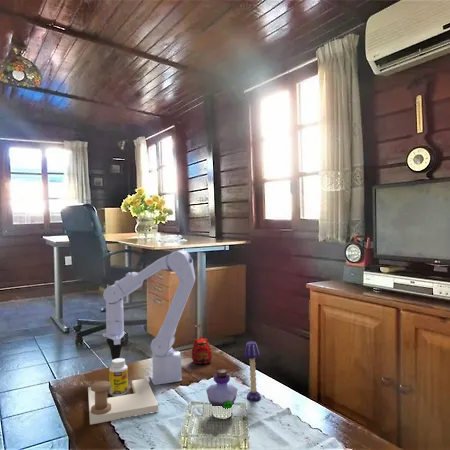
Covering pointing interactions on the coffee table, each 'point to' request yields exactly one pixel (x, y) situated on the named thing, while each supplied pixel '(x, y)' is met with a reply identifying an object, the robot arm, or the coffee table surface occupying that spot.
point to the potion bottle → (222, 390)
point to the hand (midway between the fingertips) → (115, 359)
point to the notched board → (120, 402)
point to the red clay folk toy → (201, 350)
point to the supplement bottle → (118, 377)
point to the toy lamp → (252, 369)
